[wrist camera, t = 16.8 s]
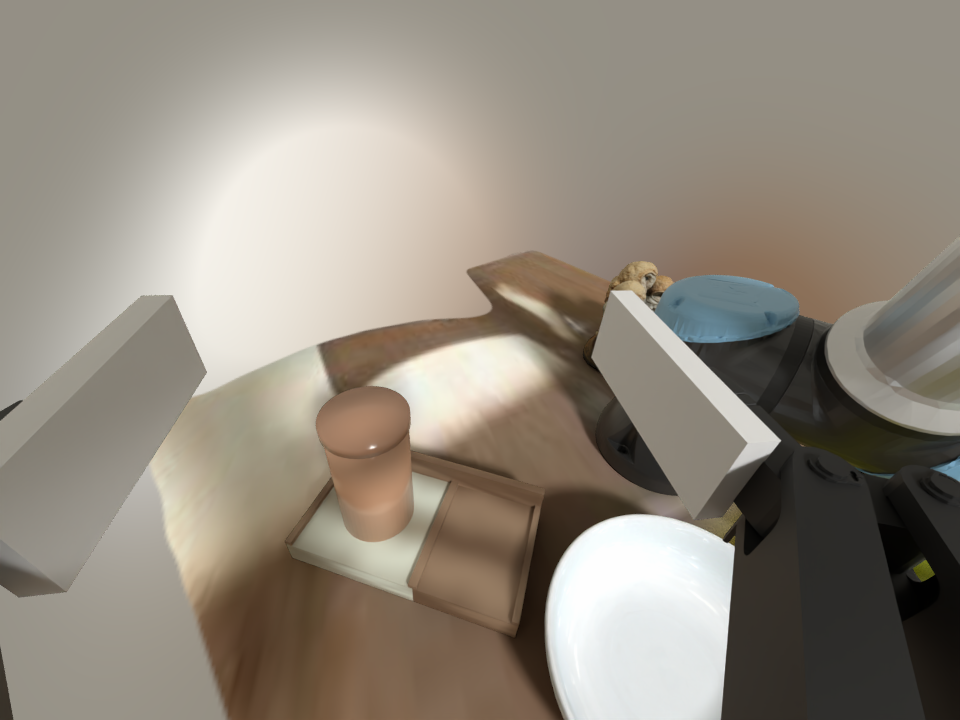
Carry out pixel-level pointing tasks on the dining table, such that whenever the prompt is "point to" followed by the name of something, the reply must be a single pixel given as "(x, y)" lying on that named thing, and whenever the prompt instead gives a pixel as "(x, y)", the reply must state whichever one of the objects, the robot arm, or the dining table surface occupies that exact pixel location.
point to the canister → (369, 460)
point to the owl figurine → (642, 283)
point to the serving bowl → (640, 621)
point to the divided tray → (438, 543)
